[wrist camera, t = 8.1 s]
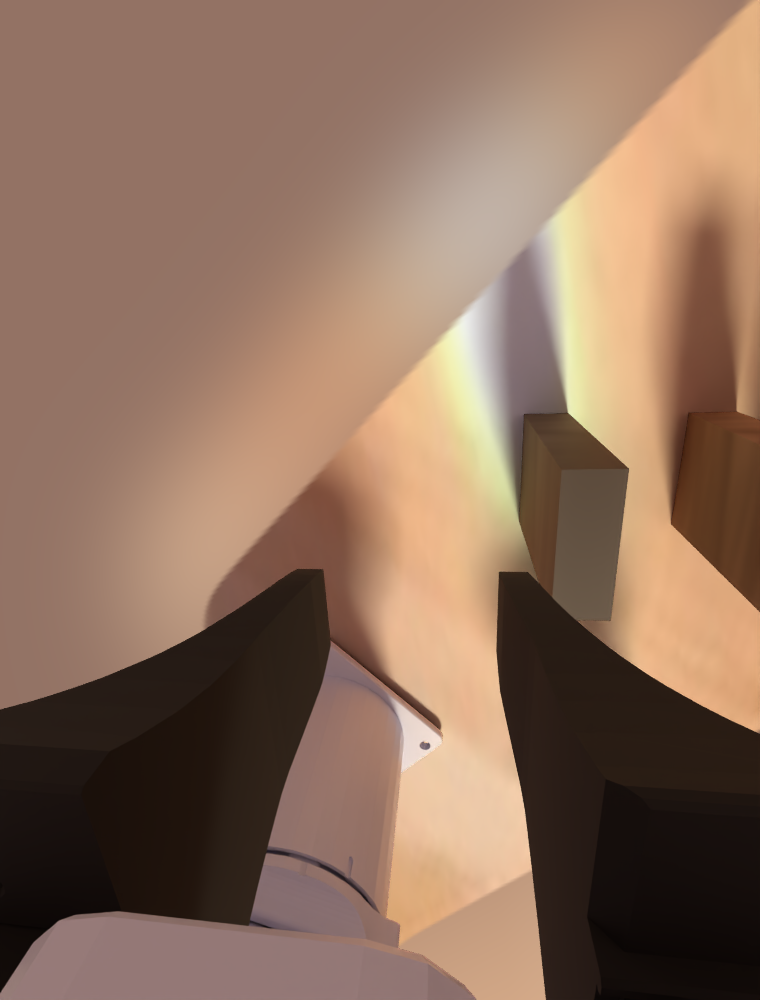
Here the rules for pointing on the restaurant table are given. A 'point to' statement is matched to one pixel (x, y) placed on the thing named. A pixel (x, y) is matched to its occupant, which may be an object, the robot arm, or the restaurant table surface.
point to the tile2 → (722, 496)
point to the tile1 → (572, 513)
